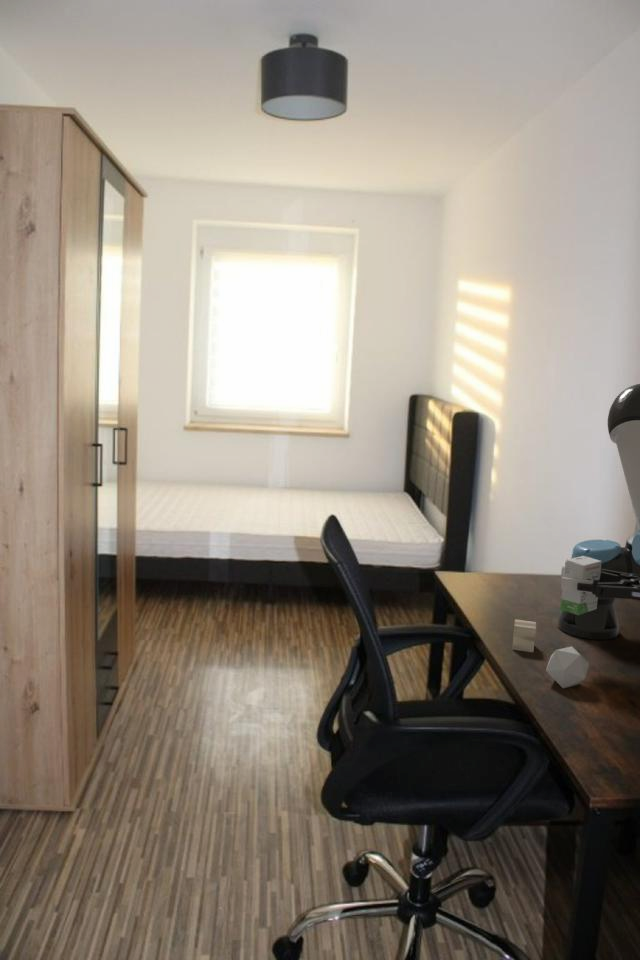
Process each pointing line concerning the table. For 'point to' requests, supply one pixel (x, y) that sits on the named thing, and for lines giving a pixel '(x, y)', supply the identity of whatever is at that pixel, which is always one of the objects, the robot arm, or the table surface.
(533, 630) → the birch block
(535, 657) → the table surface
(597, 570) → the ink box
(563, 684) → the die
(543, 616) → the table surface
